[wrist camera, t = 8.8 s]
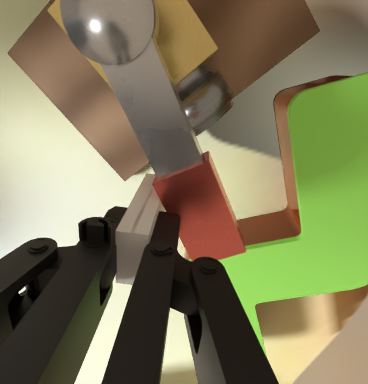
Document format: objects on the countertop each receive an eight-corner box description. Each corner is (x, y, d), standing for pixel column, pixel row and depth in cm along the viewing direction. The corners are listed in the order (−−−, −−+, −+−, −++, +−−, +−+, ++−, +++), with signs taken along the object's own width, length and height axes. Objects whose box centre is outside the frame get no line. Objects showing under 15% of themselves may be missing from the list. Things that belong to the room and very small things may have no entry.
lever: (63, -4, 11) (39, -17, 10) (136, -49, 10) (123, -71, 9) (191, 249, 16) (190, 268, 15) (246, 231, 16) (251, 250, 14)
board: (19, 54, 23) (7, 53, 21) (206, -169, 16) (207, -191, 15) (128, 175, 27) (124, 181, 25) (312, 33, 20) (320, 30, 19)
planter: (355, 319, 33) (383, 366, 28) (214, 336, 36) (216, 382, 31) (347, 67, 22) (394, 66, 16) (141, 126, 25) (124, 141, 19)
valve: (65, -13, 19) (-52, -84, 11) (122, -83, 18) (39, -240, 9) (181, 136, 23) (167, 176, 15) (238, 93, 22) (262, 108, 13)
